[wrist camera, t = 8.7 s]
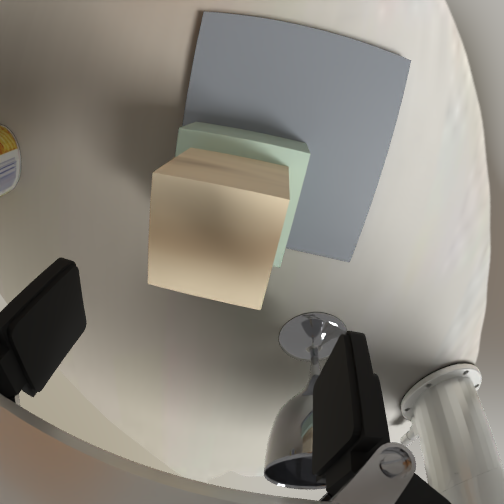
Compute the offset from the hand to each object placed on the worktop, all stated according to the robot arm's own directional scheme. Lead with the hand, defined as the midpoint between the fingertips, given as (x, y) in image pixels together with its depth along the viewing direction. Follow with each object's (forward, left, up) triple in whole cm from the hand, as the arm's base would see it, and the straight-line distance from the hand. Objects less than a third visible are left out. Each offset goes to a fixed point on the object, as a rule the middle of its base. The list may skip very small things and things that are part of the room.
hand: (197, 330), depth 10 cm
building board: (+4, -2, -16) cm, 17 cm away
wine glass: (-14, -9, -16) cm, 23 cm away
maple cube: (0, +1, -11) cm, 11 cm away
